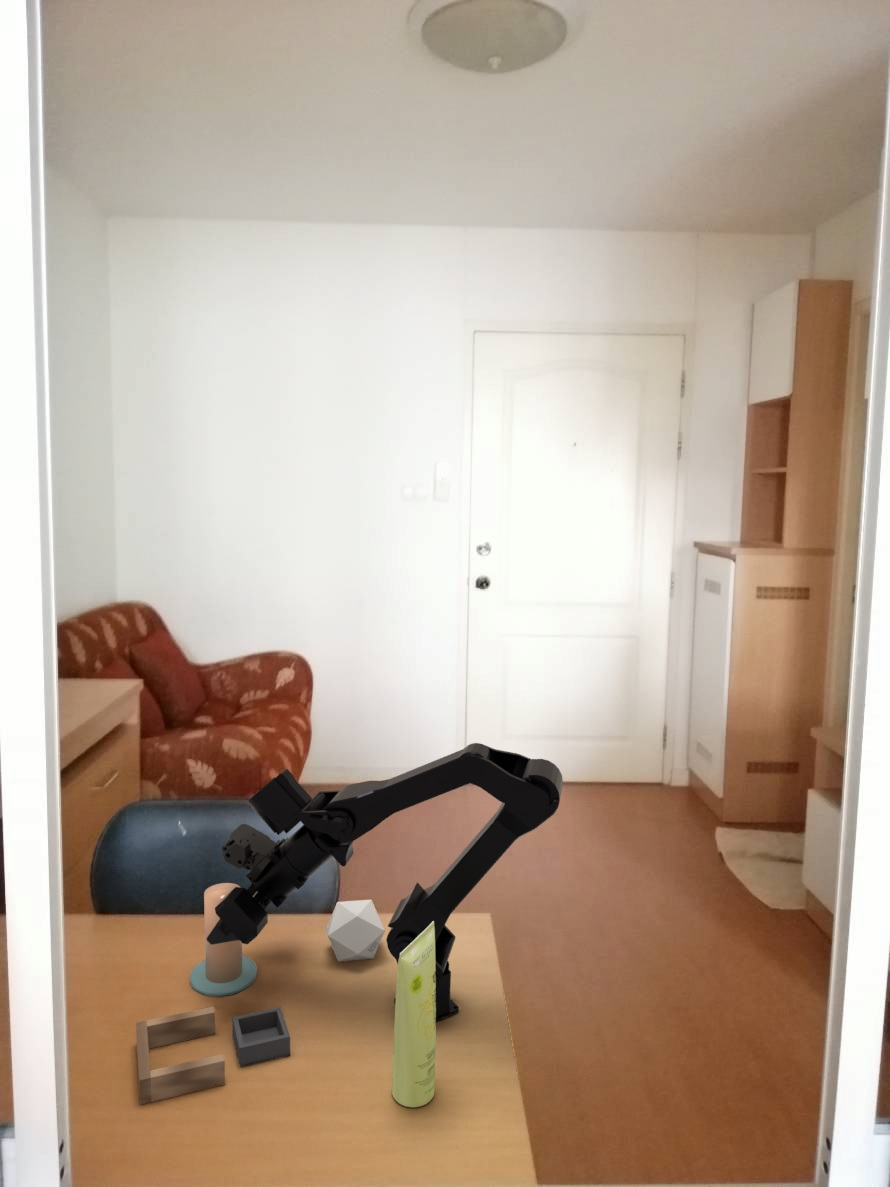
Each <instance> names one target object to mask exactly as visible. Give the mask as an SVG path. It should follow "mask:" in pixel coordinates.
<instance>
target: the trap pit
mask: <svg viewBox="0 0 890 1187" xmlns="http://www.w3.org/2000/svg"><path fill="white" fill-rule="evenodd" d="M231 1020H232V1024H231V1025H232V1028H231V1029H232V1039H233V1043H234V1048H235V1051H236V1052H235V1053H236V1058H237V1060H238V1061H237V1062H238V1065H239V1068H242V1067H243V1068H244V1067H248V1066H252V1065H255V1064H256V1065H257V1064H260V1063H264V1062H268V1061H272V1060H277V1059H281V1058H285V1057H290V1056H291V1035H290V1031H289V1029H288V1026H287V1022H286V1020H285V1017H284V1013H283V1010H282V1008H281V1006H280V1007H275V1008H269V1009H265V1010H259V1011H255V1012H250V1013H247V1014H242V1015H236V1016H232V1018H231Z"/></svg>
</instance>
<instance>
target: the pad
mask: <svg viewBox="0 0 890 1187" xmlns="http://www.w3.org/2000/svg"><path fill="white" fill-rule="evenodd" d="M257 968H258V967H257V965H256V962H255V961H254V960H252V959H251V958H250V957H248V956H246V955H243V954H242V974H241V975H240V976H239V977H238V978H237V979H235V980H233V981H231V982H227V983H213V982H211V981H209V980H208V979H207V978H206V976H205V959H204V960H202V961H200V962H199V963H198V964H197V965H195V966H194V967H193V968H192V970H191V972H190V975H189V984H190V986H191V988H192V989H193V990H194V991H195V992H197V993H198V994H200V995H203V996H208V997H227V996H231V995H235V994H237V993H239V992H240V993H241V992H242V991H244V990H246V989H247V988H249V987H250V986H251V985H252V984H253V983H254V982H255V980H256V978H257V976H258V973H257V972H258V969H257Z"/></svg>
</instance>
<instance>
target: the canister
mask: <svg viewBox="0 0 890 1187" xmlns="http://www.w3.org/2000/svg"><path fill="white" fill-rule="evenodd" d="M235 887H241V886H240V885H238V884H236V883H232V882H231V883H230V882H221V883H217V884H213V885H211V886H209V887H207V888H206V889H205V891H204V892H203V899H204V900H203V902H204V903H203V904H204V907H203V910H204V960H205V976H206V978H207V979H208V980H209V981H211V982H213V983H227V982H231V981H233V980H235V979H237V978H238V977H239V976H240V975H241V974H242V955H243V943H242V942H241V941H240V940H238V941H230V942H224V943H219V944H213V945H211V944H210V943H209V942H208V941H207V939H206V938H207V937H208V935H209V934H210V932H211V931H212V930H213V928H214V927H215V925H216V924H217V922H218V921H219V919H220V918H219V917H218V915H217V914H216V912H215V907H216V906H217V905H218V904H219V903H220V902H221V901H222V900H223V898H224V897H225V896H226V895H227V894H229V893H230V892H231V891H232V890H233V889H234V888H235Z"/></svg>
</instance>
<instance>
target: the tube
mask: <svg viewBox="0 0 890 1187" xmlns="http://www.w3.org/2000/svg"><path fill="white" fill-rule="evenodd" d="M396 972H397V974H396V988H395V989H396V990H395V998H396V1003H394V1006H395V1007H394V1008H395V1009H394V1027H393V1051H392V1072H391V1073H392V1074H391V1077H392V1078H391V1094H392V1096H393V1099H394V1100H395V1101H396V1102H397V1103H398V1104H399V1105H401V1106H404V1107H407V1108H419V1107H422V1106H425V1105H427V1104H428V1103H430V1101H431V1100H432V1099H433V1098H434V1095H435V1089H436V1046H437V1045H436V1043H437V1042H436V1040H437V1039H436V1035H437V1034H436V1033H437V1029H436V1028H437V1021H436V962H435V928H434V921H433V922H432V923H431V924H430V925H429V926H428V927H427V928H426V929H425V930H424V931H423V932H422V933H421V934H420V935H419V936H418V937H417V938H416V939H415V940H414V941H413V942H412V943H411V944H409V945H408V946H407V947H406V948H405V949H404V950H403V951H402V952H401V953H400V956H399V960H398V964H397V971H396Z"/></svg>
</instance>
